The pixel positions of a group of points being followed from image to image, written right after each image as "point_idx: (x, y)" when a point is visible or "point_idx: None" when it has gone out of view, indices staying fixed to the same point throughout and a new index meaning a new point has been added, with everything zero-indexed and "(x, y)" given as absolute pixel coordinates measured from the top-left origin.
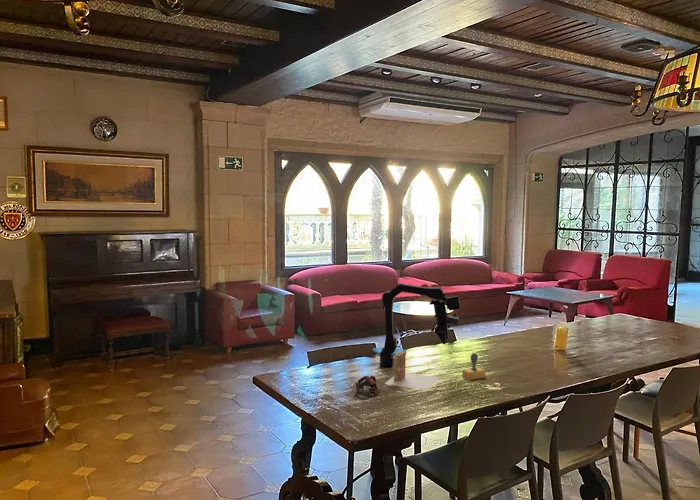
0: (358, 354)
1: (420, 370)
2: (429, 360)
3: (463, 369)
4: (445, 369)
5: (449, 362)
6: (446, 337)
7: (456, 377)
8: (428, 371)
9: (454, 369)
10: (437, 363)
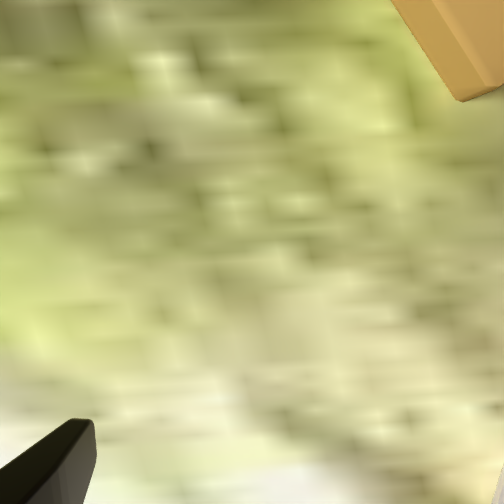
0: None
1: (342, 490)
2: (12, 437)
3: (497, 74)
4: (259, 277)
5: (16, 251)
6: (74, 479)
7: (495, 160)
8: (356, 423)
9: (238, 191)
10: (86, 361)
